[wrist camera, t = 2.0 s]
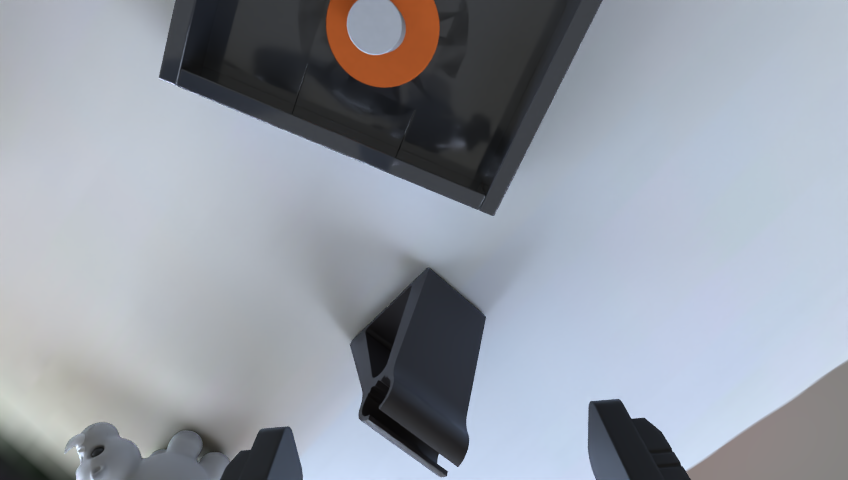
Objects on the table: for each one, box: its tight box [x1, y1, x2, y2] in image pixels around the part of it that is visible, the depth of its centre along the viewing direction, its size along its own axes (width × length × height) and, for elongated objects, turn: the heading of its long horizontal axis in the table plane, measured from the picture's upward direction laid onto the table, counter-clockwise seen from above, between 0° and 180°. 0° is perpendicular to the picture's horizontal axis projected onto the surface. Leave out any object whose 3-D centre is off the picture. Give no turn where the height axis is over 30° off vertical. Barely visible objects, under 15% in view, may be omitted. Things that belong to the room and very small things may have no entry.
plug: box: [326, 0, 440, 88], centre depth 27 cm, size 6×6×8 cm
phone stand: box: [350, 268, 486, 477], centre depth 33 cm, size 9×6×12 cm, turn 136°
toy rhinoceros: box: [64, 422, 230, 480], centre depth 39 cm, size 7×12×8 cm, turn 40°
